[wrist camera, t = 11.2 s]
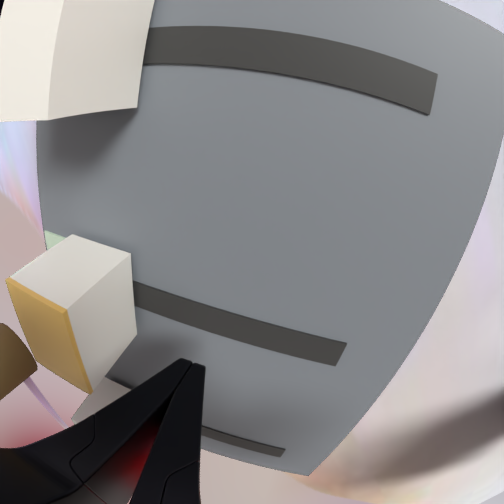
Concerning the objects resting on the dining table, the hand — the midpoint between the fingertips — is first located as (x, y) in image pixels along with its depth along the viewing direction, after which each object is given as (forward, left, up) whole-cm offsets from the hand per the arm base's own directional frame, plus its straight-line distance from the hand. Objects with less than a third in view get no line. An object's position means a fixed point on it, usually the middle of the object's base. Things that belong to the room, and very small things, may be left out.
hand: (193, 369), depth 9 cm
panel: (+1, 0, -4) cm, 4 cm away
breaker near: (+5, -9, -2) cm, 10 cm away
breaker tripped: (+5, 0, -2) cm, 5 cm away
